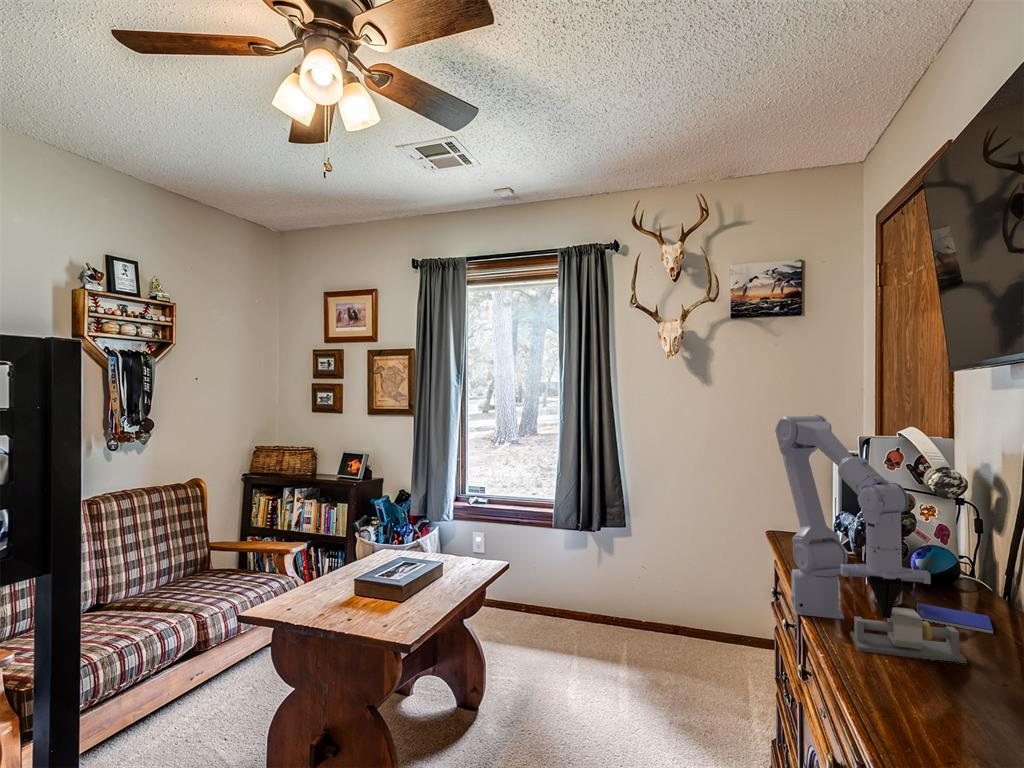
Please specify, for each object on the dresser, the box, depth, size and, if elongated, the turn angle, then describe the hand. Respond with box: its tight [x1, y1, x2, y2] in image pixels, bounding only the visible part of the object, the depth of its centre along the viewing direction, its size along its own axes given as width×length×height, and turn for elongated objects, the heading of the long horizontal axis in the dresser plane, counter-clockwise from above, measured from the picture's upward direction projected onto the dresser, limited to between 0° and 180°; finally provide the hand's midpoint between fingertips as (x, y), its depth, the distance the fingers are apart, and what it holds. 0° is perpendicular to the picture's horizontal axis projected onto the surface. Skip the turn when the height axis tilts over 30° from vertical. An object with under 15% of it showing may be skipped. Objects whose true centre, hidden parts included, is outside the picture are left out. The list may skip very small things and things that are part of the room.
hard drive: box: [916, 603, 994, 634], centre depth 120 cm, size 2×8×12 cm
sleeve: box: [886, 606, 924, 649], centre depth 107 cm, size 4×5×6 cm
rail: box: [849, 616, 968, 665], centre depth 107 cm, size 17×7×6 cm, turn 70°
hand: (885, 616), depth 108 cm, fingers closed
